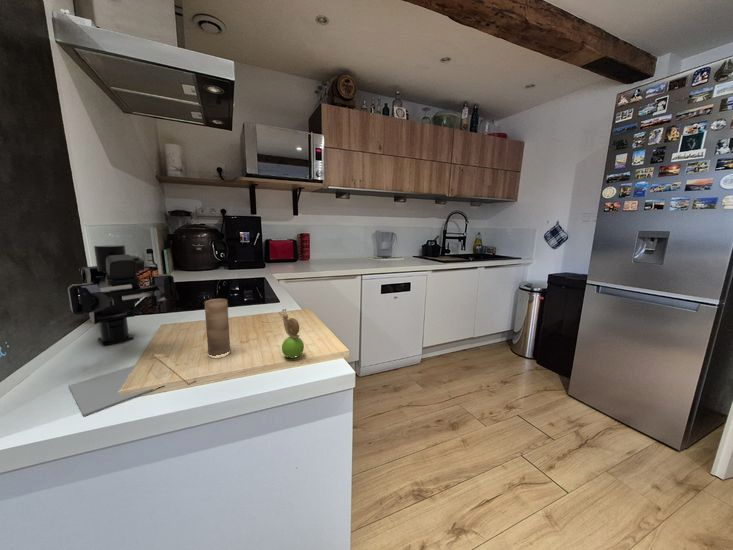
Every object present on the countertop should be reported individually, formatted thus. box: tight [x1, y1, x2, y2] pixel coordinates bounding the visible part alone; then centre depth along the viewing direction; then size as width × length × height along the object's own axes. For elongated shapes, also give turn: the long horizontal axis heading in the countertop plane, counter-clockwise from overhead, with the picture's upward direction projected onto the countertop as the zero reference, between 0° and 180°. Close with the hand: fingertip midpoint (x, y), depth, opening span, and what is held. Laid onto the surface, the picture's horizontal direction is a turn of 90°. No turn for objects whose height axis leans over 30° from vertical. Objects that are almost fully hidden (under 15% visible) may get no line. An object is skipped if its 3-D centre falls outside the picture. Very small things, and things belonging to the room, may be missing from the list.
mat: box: [68, 364, 155, 418], centre depth 57 cm, size 14×12×1 cm
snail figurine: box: [281, 308, 305, 358], centre depth 71 cm, size 5×6×12 cm
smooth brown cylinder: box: [203, 298, 231, 356], centre depth 71 cm, size 5×5×14 cm
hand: (139, 298), depth 61 cm, fingers open, 9 cm apart
